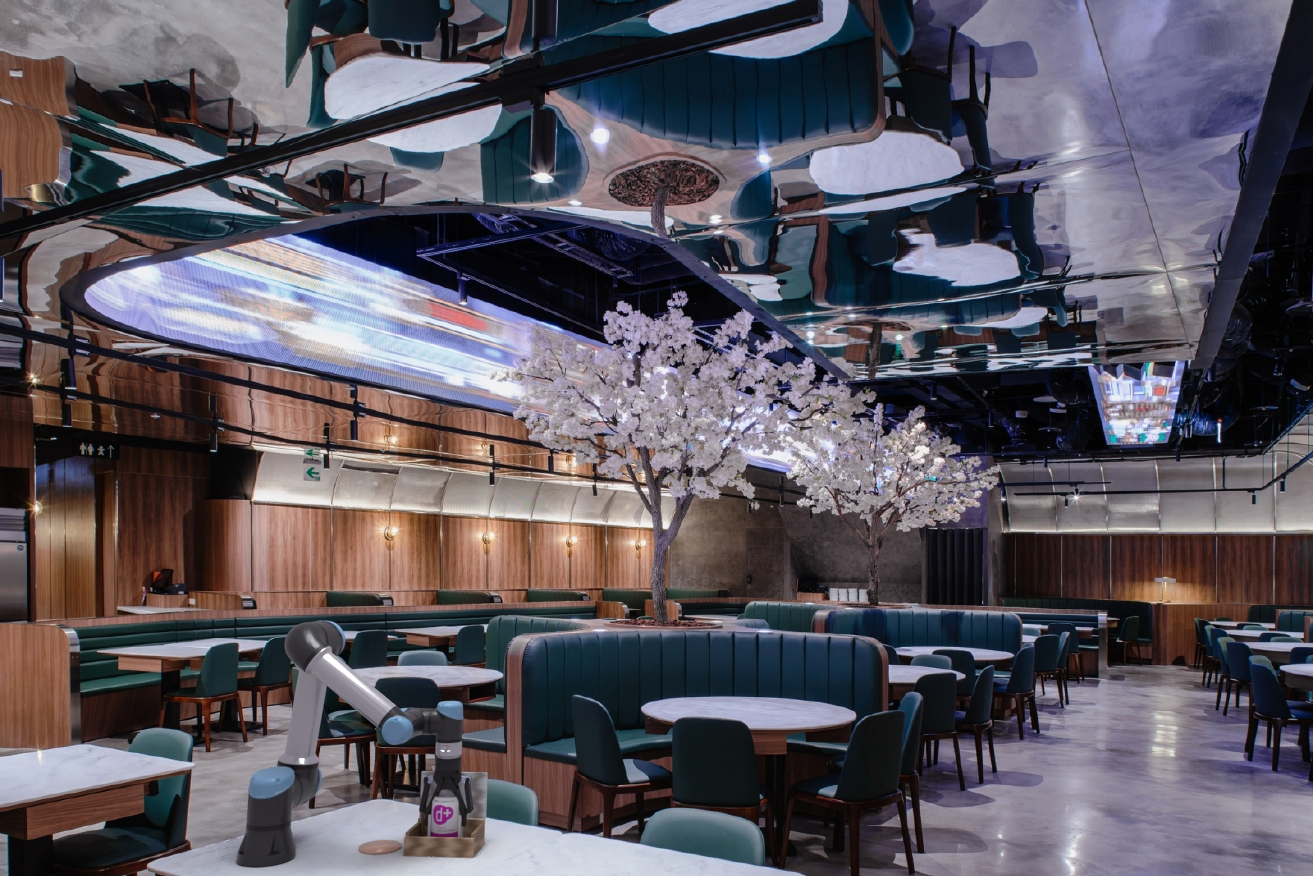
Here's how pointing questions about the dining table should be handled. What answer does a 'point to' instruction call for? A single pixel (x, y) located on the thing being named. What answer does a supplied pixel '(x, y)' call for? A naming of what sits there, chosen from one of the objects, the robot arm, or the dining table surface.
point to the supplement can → (445, 816)
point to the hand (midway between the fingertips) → (445, 837)
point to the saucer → (380, 847)
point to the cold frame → (472, 832)
